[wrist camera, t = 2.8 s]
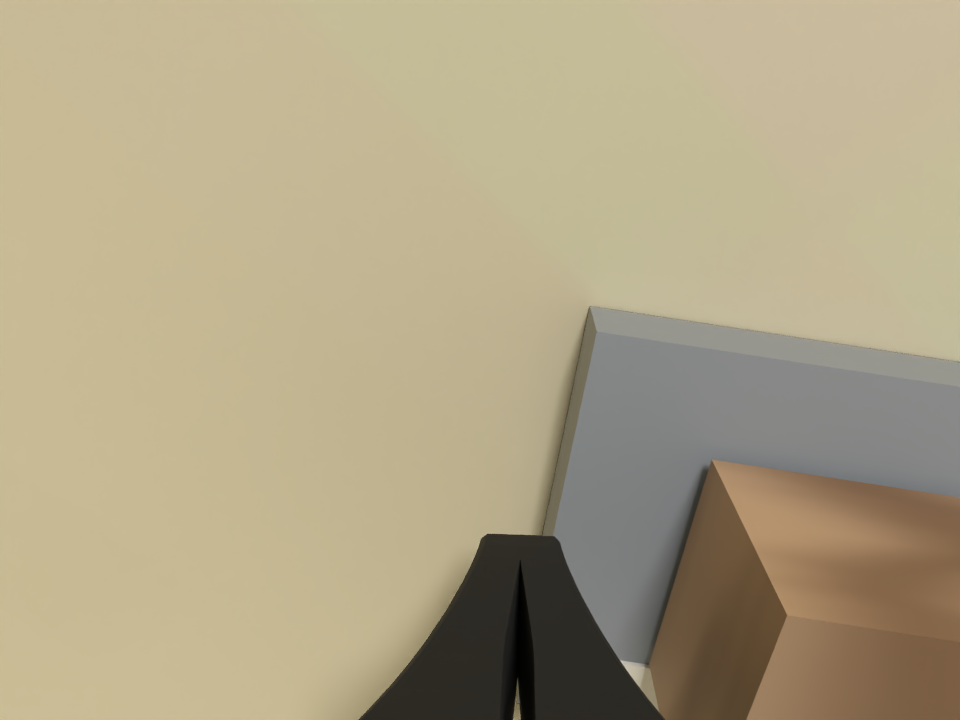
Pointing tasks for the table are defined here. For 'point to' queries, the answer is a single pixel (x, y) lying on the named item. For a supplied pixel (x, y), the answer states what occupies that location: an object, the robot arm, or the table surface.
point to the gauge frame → (722, 445)
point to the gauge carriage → (812, 602)
